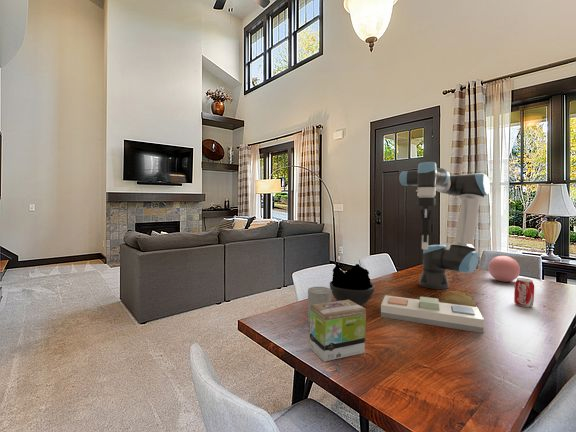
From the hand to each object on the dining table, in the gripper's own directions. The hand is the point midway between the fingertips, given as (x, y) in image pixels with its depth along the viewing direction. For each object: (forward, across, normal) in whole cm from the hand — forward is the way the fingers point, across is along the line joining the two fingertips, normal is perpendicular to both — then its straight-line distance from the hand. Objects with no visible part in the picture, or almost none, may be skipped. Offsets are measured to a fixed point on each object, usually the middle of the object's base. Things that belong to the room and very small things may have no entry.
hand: (424, 249), depth 136 cm
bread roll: (+27, -3, +14) cm, 30 cm away
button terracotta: (+24, +15, -10) cm, 30 cm away
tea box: (+26, +57, -25) cm, 68 cm away
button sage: (+22, +15, +2) cm, 27 cm away
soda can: (+27, -20, +42) cm, 54 cm away
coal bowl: (+26, +14, -30) cm, 42 cm away
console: (+26, +15, +2) cm, 30 cm away
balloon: (+27, -68, +44) cm, 85 cm away
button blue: (+24, +15, +14) cm, 31 cm away
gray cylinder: (+26, +36, -38) cm, 59 cm away
